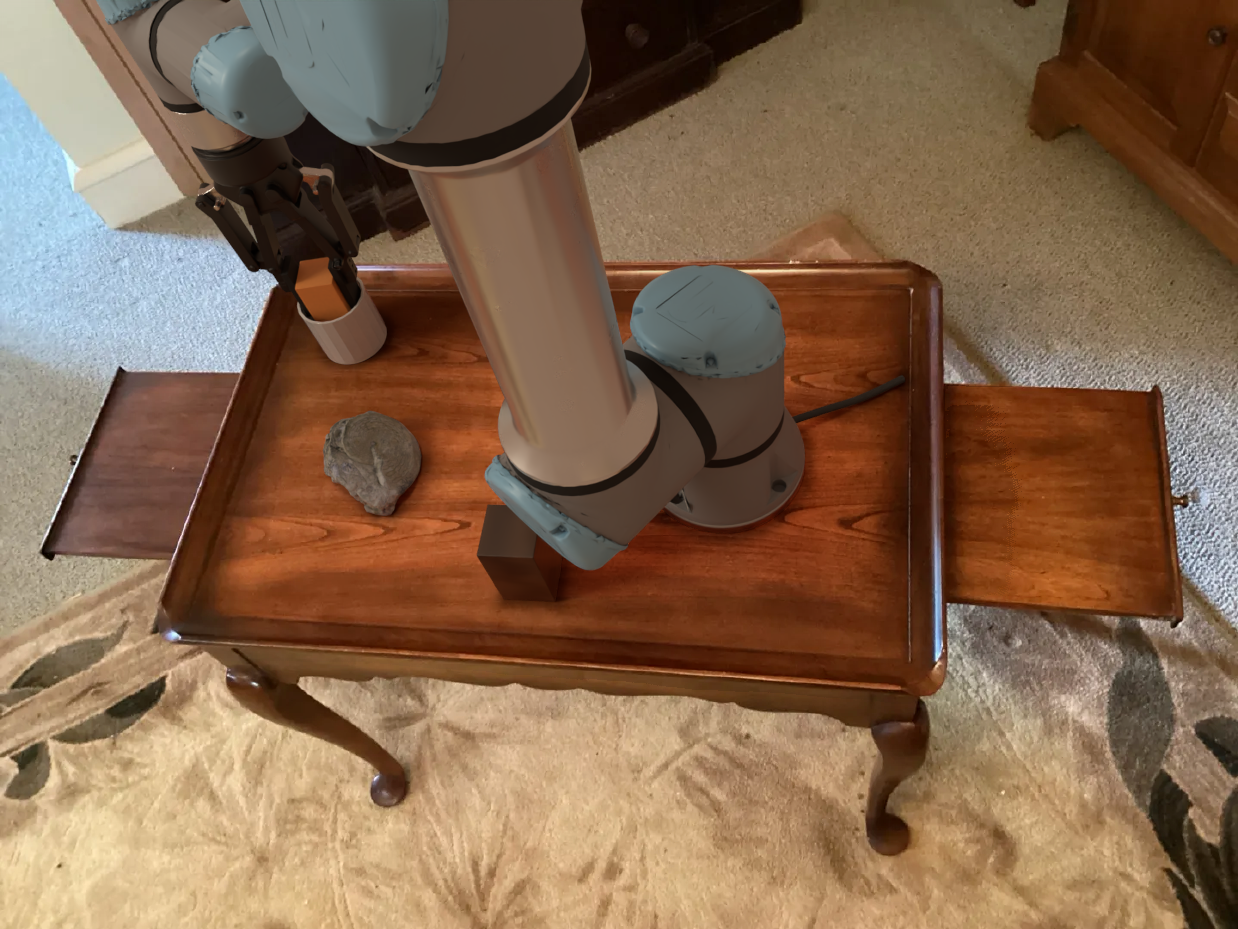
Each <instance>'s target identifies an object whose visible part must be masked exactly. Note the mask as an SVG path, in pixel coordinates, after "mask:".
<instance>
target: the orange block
mask: <svg viewBox="0 0 1238 929" xmlns="http://www.w3.org/2000/svg"><path fill="white" fill-rule="evenodd" d="M328 263H329V258H328V257H327V256H326V257H319V258H312V259H305V260H300V261H299V264H298V266H299V270H298V275H297V281H296V286H295V290H296V292H297V293H298V295H299V296H300V298H301V299H302V301H303V303H304V304H305V306H306V307H307V309H308V310H309V312H310V314H311V315H312V317H313V318H314V320H315V321H318V322H325V321H332V320H335V319H337V318H340V317H342V316H344V315H345V314H347V313H348V312H350V311H351V310H352V309H351V308H350V306H349V304H348V302H347V301H346V299H345V297H344V295H343V294H342V292H341V290H340V289H339V287H338V285H337V283H336V282H335V280H334V278H333V276H332V275H331V273H330V271H329V270H328Z"/></svg>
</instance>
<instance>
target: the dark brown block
mask: <svg viewBox="0 0 1238 929" xmlns="http://www.w3.org/2000/svg"><path fill="white" fill-rule="evenodd" d="M476 551H477V552H476V557H477V559H478V560H479V562H480V564H481V565H482V567H483V569H484V570H485V573H487V575H488V578H490V580H491V582H492V583H493V585H494V587H495V589H496V590H497V591H498V593H499V595H500V597H501V598H502V599H503V600H509V601H510V600H512V601H533V602H549V603H550V602H552V603H556V601H557V596H558V588H559V584H560V578H561V572H562V565H563V558H564V557H563V556H562V555H561V554H560V553H558V552H557V551H556V550H555V549H553V548H552V547H551V546H550V545H549V544H548V543H546V542H545V541H544V540H543V539H542V538H541V537H540V536H538V535H537V534H536V533H535V532H534V531H533V530H532V529H531V528H530V527H529V526H528V525H526V524H525V523H524V522H523V521H522V520H521V519H520V518H519V517H518V516H517V515H516V514H515V513H514V512H513V511H512V510H511V509H510V508H509V507H508V506H507V505H506V504H491V503H490V504H487V505H486V510H485V514H484V519H483V523H482V528H481V533H480V537H479V542H478V546H477V550H476Z"/></svg>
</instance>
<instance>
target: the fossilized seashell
mask: <svg viewBox="0 0 1238 929" xmlns="http://www.w3.org/2000/svg"><path fill="white" fill-rule="evenodd" d="M324 440H325V441H324V444H323V448H322V454H323V472H324V475H325V476H327V477H330V478H331V482H332V483H334V484H339V485H341V486H343V487H344V488H345V489H346V490H347V491H348V493H349V495H350V496H351V497H353V498H354V500H356V501H357V502H359V503H361V504H363V508H364V510H365V512H366V513H370V514H373V515H376V516H383V517H387V516H390V515H392V513H393V512H394V511H395V509H396V504H397V502H398V501H399V498H400V497H401V496H403V495H404V494H405V493H406V492H407V490H408V489H409V488H411V486H412V485H413V484H414V482H415V481H416V479H417V477H418V476H419V473H420V469H421V464H422V452H421V449H420V445H419V442H418V440H417V438H416V436H414V434H413V433H412V432H411V431H410V430H409V429H408V428H407V426H405V425H404V424H403V423H402V422H400V421H399V420H398V419H395V418H393V417H391V416H389V415H386V414H383V413H382V412H381V413H380V412H378V411H374V410H368V411H365V412H364V413H360V414H357V415H355V416H352V417H347V418H341V419H340V420H339V419H338V421H337V422H334V423H333V425H332V426H331V427H330V428H329V433H327V434H325V438H324Z"/></svg>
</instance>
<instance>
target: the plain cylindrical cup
mask: <svg viewBox="0 0 1238 929" xmlns="http://www.w3.org/2000/svg"><path fill="white" fill-rule="evenodd" d="M356 282H357V284H358V285H359V287H360V289H361V297H360V299H359V301H358V303H357V304H356V305H355V306H354V308H353V309H352V310H351V311H350V312H348V313H347V314H345V315H344V316H342V317H340V318H337V319H335V320H332V321H325V322H318V321H315V320H314V318H313V317H312V316H310V317H307V315H306V314H305V312H304V310H303V309H302V307H301V306H300V304H299V303H298V302H297V303H296V304H297V305H296V307H297V312H298V315H299V316H300V318H301V319H302V321H303V322H304V324H305V325H306V327H307V328H308V330H309V331H310V333H311V334H312V336H313V337H314V339H315V341H316V342H317V343H318V345H319V347H320V348H321V350H322V351H323V353H324V354H325V355H326V357H327V358H328V359H329V360H331V361H332V362H334V363H336V364H339V365H354V364H359V363H362V362H364V361H367V360H368V359H370V358H371V357H373V356H374V355H376V354H377V353H378V352H379V351H380V349H381V348H382V347H383V345H384V344H385V342H386V339H387V335H388V333H387V331H388V329H387V325H386V324H385V321H384V318H383V317H382V315H381V314H380V311H379V310H378V308H377V306H376V304H375V302H374V300H373V298H372V296H371V295H370V292H368V289H367V287H366V285H365V283H364V282H363V280H362V279H361V278H360V277H359V276H358V275H357V280H356Z"/></svg>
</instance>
